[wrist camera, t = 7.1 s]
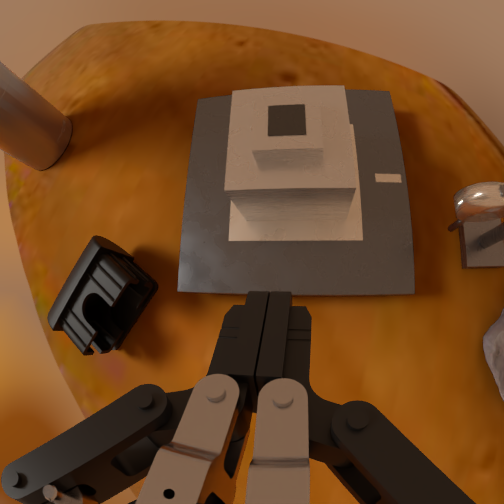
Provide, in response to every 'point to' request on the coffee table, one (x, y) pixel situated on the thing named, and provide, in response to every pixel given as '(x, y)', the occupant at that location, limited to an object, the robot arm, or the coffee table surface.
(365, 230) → the grey flat square slab
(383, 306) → the coffee table surface
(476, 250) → the dial indicator stand
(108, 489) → the robot arm
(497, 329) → the stone block
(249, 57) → the coffee table surface
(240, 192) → the cover
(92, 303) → the end cap
